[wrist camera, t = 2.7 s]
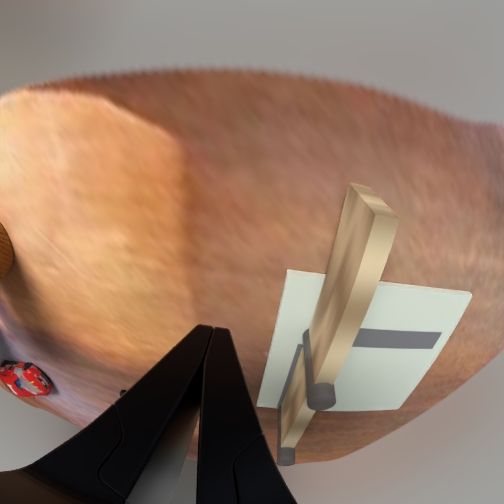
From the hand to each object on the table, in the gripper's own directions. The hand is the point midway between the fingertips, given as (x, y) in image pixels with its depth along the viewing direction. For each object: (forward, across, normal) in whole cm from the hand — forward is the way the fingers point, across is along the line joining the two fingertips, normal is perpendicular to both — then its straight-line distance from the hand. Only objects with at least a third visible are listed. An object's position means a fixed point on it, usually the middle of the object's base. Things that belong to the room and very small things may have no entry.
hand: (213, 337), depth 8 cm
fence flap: (+11, -6, +4) cm, 13 cm away
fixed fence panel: (+12, -6, +16) cm, 20 cm away
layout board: (+12, -11, +12) cm, 20 cm away
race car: (+12, +31, +29) cm, 44 cm away
